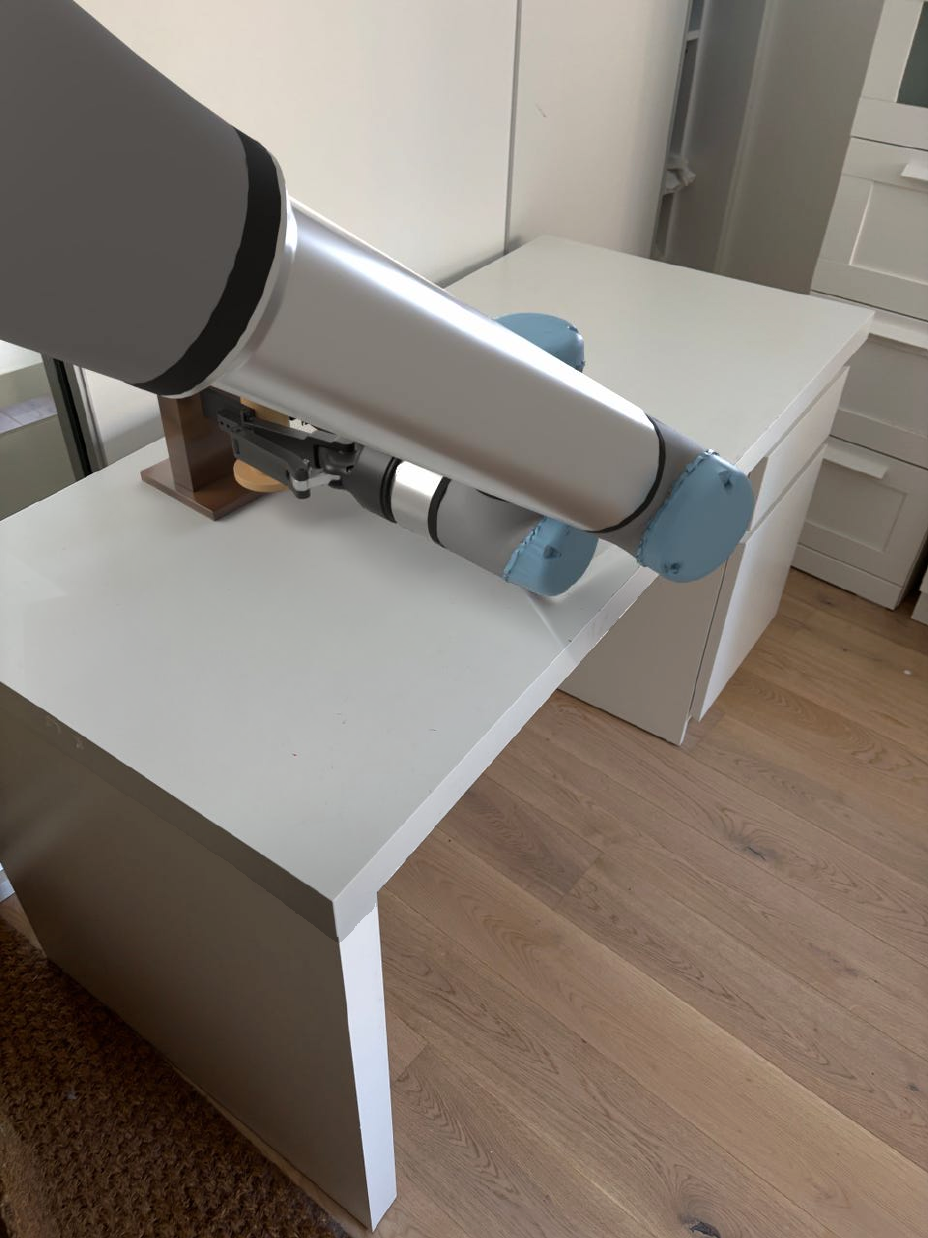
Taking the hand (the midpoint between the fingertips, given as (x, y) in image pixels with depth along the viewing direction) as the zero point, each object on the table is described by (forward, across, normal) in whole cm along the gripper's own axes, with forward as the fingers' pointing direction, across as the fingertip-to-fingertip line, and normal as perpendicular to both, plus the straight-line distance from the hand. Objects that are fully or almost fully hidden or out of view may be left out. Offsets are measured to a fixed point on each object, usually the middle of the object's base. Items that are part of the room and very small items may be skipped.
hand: (225, 392), depth 88 cm
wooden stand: (-1, 0, -10) cm, 10 cm away
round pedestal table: (-5, 0, -6) cm, 8 cm away
